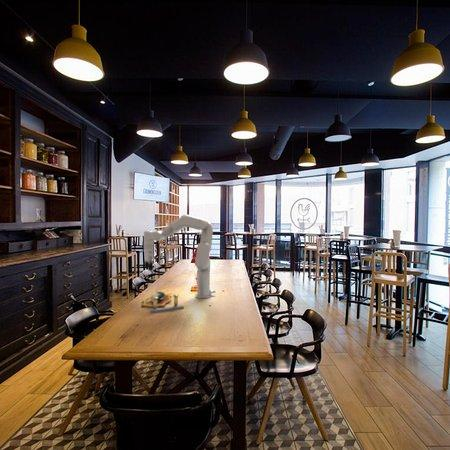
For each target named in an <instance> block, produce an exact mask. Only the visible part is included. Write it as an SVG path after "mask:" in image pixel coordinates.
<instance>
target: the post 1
mask: <svg viewBox="0 0 450 450" xmlns="http://www.w3.org/2000/svg"><path fill="white" fill-rule="evenodd" d="M152 299H153V308H152V309H158V308H157V299H158V297H153V298H152Z"/></svg>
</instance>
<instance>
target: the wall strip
mask: <svg viewBox="0 0 450 450" xmlns="http://www.w3.org/2000/svg"><path fill="white" fill-rule="evenodd" d="M184 307H185V306H183V304H181V305H178V306H174V305H173V306H167V307H166V306H165V307H164V308H157V309H153V308H151V309H149V313H150V314H155V313H163V312H170V310H171V311H176V310H184V309H185V308H184Z"/></svg>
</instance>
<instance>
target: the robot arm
mask: <svg viewBox="0 0 450 450" xmlns="http://www.w3.org/2000/svg"><path fill="white" fill-rule="evenodd" d="M185 228H189V229H194V230H198V231H201V235H200V243H198V246H197V248H196V254H195V255H196V256H195V267H196V269H197V272H196V273H197V275H196V276H197V278H196V279H197V283H196V285H197V287H196V288H197V289H196V291H197V292H196V293H195V297H196V298H198V299H208V298H211V297H212V296H213V294H216V290H215V289H214V290H213V289H212V290H211V288H210V287H211V286H210V285H211V282H210V281H211V276H210V275H211V273H210V271H211V258H210V252H211V250H212V244H213V231H214V230H213V225H212V223H211V222H210V221H209V220H207V219H206V218H202V217H195V216H191V215H190V214H183V215H181V216H180V217H179V218H177V219H175V220H173V221H171V222H169V224H168V225H167V226H166V227H164V228H162V229H159V230H156V231H153V230H145V231H144V232H143V250H144V268H145V269H148V271H150V270H153V268H154V267H153V262H154V261H155V257H154V255H155V254H154V248H155V247H154V246H155V243H154V242H160V241H162V240H164V239H166V238H168V237H170V236H172V235H174V234H176V233H179V232H180V231H181V230H183V229H185Z"/></svg>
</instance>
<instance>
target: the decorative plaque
mask: <svg viewBox="0 0 450 450" xmlns="http://www.w3.org/2000/svg"><path fill="white" fill-rule="evenodd" d="M153 297H158V299H157V309H159V308H166V304H167V305H169V304H171V303H170V302H172V295H171V294H165V292H163V291H157V292H156V293H154V294H151V295H150V296H149V297H146V298H144V299H143V300H142V304H141V305H140V308H144V309H145V308H146V309H153V299H152V298H153Z"/></svg>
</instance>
